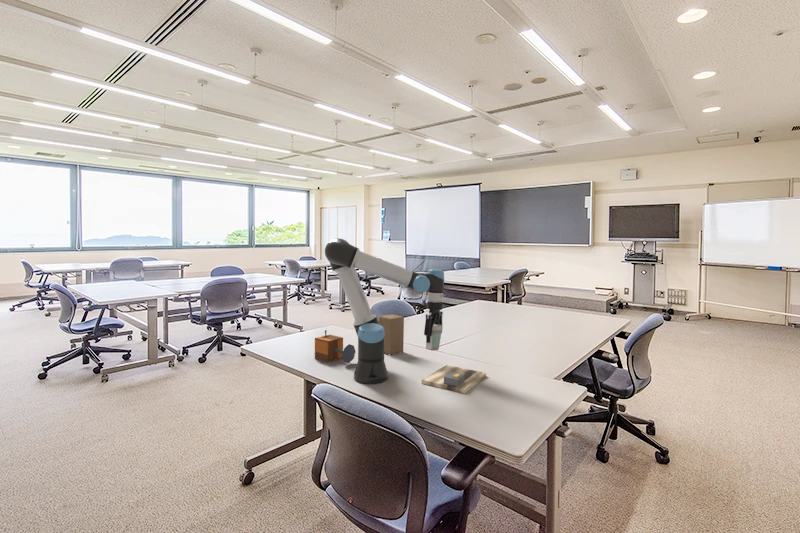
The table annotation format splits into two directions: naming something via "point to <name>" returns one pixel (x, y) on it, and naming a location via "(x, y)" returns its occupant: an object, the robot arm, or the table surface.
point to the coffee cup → (436, 336)
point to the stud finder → (454, 379)
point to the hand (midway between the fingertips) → (432, 347)
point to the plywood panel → (470, 375)
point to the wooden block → (393, 333)
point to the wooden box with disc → (333, 349)
